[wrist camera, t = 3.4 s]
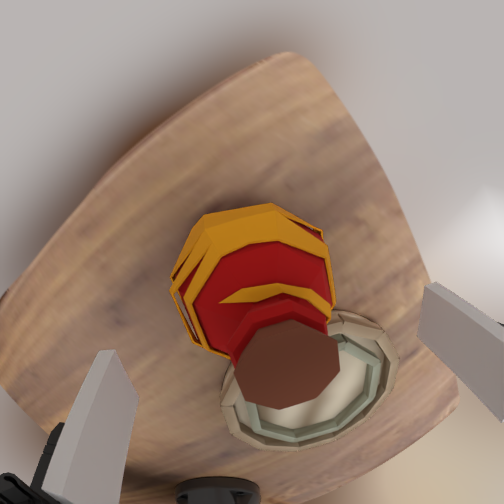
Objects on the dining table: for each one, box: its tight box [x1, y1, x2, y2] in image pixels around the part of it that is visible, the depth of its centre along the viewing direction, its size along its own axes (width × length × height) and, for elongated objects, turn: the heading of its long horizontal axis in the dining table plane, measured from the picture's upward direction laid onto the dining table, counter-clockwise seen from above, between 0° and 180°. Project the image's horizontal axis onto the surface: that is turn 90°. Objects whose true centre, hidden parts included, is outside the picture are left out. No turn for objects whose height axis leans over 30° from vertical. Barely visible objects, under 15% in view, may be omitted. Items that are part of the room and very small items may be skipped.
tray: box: [220, 310, 400, 452], centre depth 28 cm, size 20×20×3 cm
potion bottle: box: [169, 203, 340, 410], centre depth 17 cm, size 10×10×15 cm
